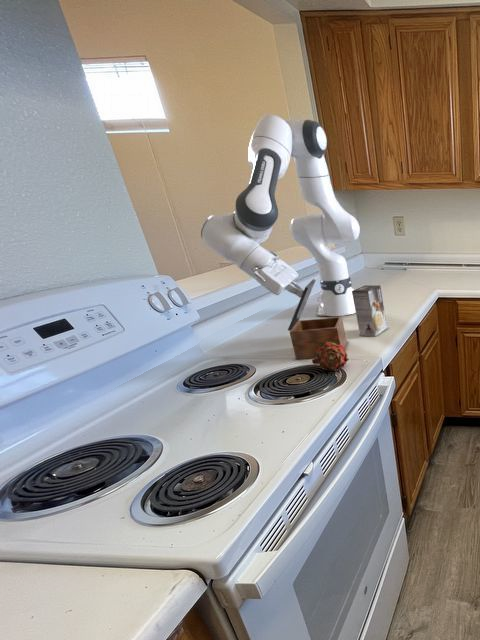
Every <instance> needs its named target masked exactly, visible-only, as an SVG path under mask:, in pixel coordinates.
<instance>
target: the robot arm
mask: <svg viewBox="0 0 480 640" xmlns="http://www.w3.org/2000/svg"><path fill="white" fill-rule="evenodd" d="M248 145H249V146H248V152H247V153H248V155H247V157H248V158H247V161H248V165H249V166H250V168H251V169H252V172H251V176H250V180H249V183H248V185H247V187H246V188H245V189H244V190H242V192H240V194H238V196H237V197H236V199H235V209H234V211H233V212H231V213H227V214H221V215H216V214H211V215H210V216H209V217H207V219H205V221H204V223H203V225H202V228H201V231H200V237H201V240H202V242H203V243H204V244H206V246H208V247H209V248H210V249H211V250H213V251H214V252H215V253H217V254H218V255H219V256H220V257H222V258H223V259H225V260H227V261H230V262H231V263H233V264H234V265H235V266H236V267H237V268H238V269H239V270H241V271H243V273H245V274H246V275H248V276H250V277H251V278H252V279H254V280H255V281H256V282H257V283H258V284H260V285H261V286H262V287H263V288H265V289H266V290H268V291H269V292H270V293H271V294H273V295H275V296H280V295H281V294H282V293H283V292H285V291H287V292H288V293H291V294H294V295H295V296H297V297H298V298H299V299H301V296H302V294H303V292H304V289H303V288H302V287H301V286H300V285H299V284H298V282H296V280H297V279H298V277H299V273H298V272H297V271H296V270H295V269H294V268H293V267H291V266H290V265H289V264H288V263H287V262H285V261H284V260H283V259H281V258H280V256H279V254H277V253H276V252H274V251H270V250H268V249H266V248H265V247H263V246H262V244H263V243H264V242H266V241H267V240H268V239H269V237H270V235H271V233H272V231H273V229H274V228H273V227H274V226H275V223H276V221H277V220H278V217H279V208H278V204H277V201H276V196H275V194H276V189H277V184H278V181H279V180H280V179H282V178H284V177H285V175H286V172H287V170H288V168H289V165H290V161H291V158H293V161H294V168H295V173H296V177H297V182H298V186H299V189H300V194H301V197H302V198H303V200H304V201H305V202H307V203H308V204H310V205H312V206H314V207H316V208H318V209H319V210H320V211H321V212H322V214H304V215H299V216H297V217H293V218H292V219H291V221H290V224H289V232H290V234H291V237H292V238H293V240H294V241H295V242H297V243H298V244H299V245H301V246H303V247H304V248H305V249H307V251H308V252H309V253H310V254H311V255H312V257H313V258H314V260H315V262H316V265H317V270H318V273H319V278H320V280H319V286H320V288H321V292H320V294H319V296H318V297H317V298H316V299H317V303H318V304H319V306H318V310H317V316H318V317H344V316H348V315H353V314H356V311H355V305H354V300H353V295H352V291H353V290H356V289H355V288H353V287H352V286H353V285H352V284H353V283H352V279H351V277H350V274H349V269H348V264H347V260H346V258H345V257H344V256H343V255H342V254H340V253H339V252H336V251H334V250H332V249H330V247H329V246H328V245H329V244H330V245H333V244H347V243H351V242H354V241H357V240H358V238H359V236H360V235H361V234H360V232H361V227H360V222H359V221H358V220H357V218H356V217H355V216H354V215H352V214H351V213H349V212H348V211H347V210H345V209H344V208H343V206H341V204H340V203H339V201H338V200H337V197H336V195H335V192H334V189H333V185H332V181H331V176H330V173H329V168H328V165H327V161H326V158H325V153H326V151H327V149H328V137H327V133H326V131H325V129H324V127H323V126H322V125H321V124H320V123H319V122H318V121H316V120H311V119H299V118H286V119H283V118H282V117H280V116H278V115H275V114H265V115H263V116H261V117H260V119H259V120H258V122H257V124H256V125H255V127H254V130H253V132H252V135H251V137H250V141H249V144H248Z"/></svg>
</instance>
